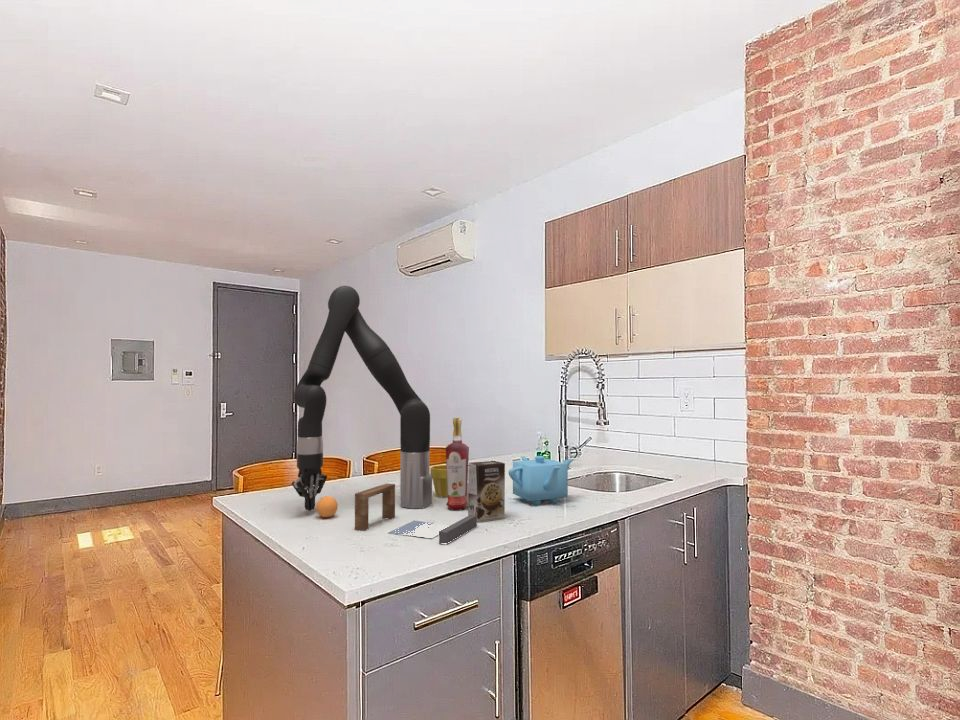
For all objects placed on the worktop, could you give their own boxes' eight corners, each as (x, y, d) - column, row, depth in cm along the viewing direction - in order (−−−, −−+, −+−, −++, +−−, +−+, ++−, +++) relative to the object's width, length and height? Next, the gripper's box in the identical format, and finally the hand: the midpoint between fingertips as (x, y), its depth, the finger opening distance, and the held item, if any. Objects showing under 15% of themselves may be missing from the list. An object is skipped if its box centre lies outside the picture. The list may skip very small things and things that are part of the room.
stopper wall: (476, 526, 153) (476, 515, 153) (446, 544, 136) (446, 532, 137) (470, 525, 154) (470, 514, 154) (439, 543, 137) (439, 531, 137)
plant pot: (439, 491, 199) (439, 463, 199) (465, 493, 194) (465, 465, 195) (424, 496, 189) (424, 468, 190) (451, 499, 185) (451, 470, 185)
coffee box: (477, 522, 157) (477, 465, 157) (467, 517, 162) (467, 462, 163) (505, 519, 161) (505, 462, 161) (494, 514, 166) (494, 459, 167)
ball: (341, 515, 164) (341, 495, 164) (328, 520, 159) (328, 499, 159) (325, 513, 167) (325, 493, 167) (311, 518, 161) (312, 497, 161)
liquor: (471, 506, 176) (471, 417, 177) (465, 511, 169) (465, 419, 169) (449, 505, 178) (449, 417, 178) (442, 510, 170) (442, 418, 171)
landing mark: (454, 526, 153) (454, 525, 153) (431, 539, 141) (431, 538, 141) (413, 521, 158) (413, 520, 158) (388, 533, 146) (388, 532, 146)
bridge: (394, 517, 162) (395, 484, 162) (363, 531, 148) (364, 494, 148) (386, 516, 163) (386, 483, 163) (354, 529, 150) (354, 493, 150)
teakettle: (505, 505, 178) (504, 458, 178) (521, 492, 196) (521, 450, 196) (563, 510, 171) (563, 462, 172) (575, 497, 189) (574, 453, 189)
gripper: (303, 455, 159) (303, 516, 159) (334, 449, 171) (334, 506, 170) (284, 453, 162) (284, 513, 162) (315, 448, 174) (315, 503, 174)
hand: (310, 509), depth 166 cm, fingers closed
